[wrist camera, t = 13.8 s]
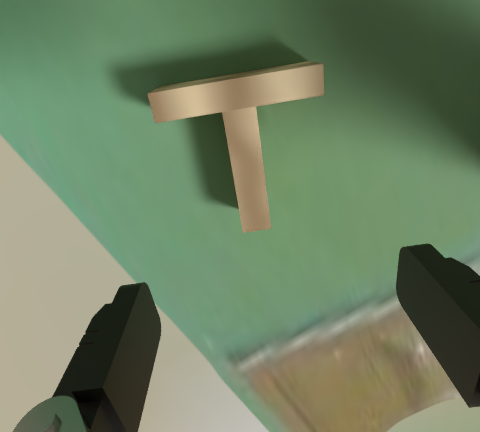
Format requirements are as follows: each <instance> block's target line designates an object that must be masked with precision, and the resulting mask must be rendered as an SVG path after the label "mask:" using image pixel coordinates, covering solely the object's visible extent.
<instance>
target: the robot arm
mask: <svg viewBox="0 0 480 432" xmlns="http://www.w3.org/2000/svg"><path fill="white" fill-rule="evenodd" d="M396 291H397V296H398V299H399V302H400V304H401V306H402V307H403V309H404V310H405V312H406V313H407V315H408V316H409V318H410V319H411V321H412V322H413V324H414V325H415V327H416V328H417V330H418V331H419V333H420V334H421V336H422V337H423V339H424V340H425V342H426V343H427V345H428V346H429V348H430V350H431V351H432V353H433V354H434V356H435V357H436V359H437V360H438V362H439V363H440V365H441V366H442V368H443V369H444V371H445V372H446V374H447V375H448V377H449V378H450V380H451V381H452V383H453V384H454V386H455V387H456V389H457V390H458V392H459V393H460V395H461V396H462V398H463V399H464V401H465V402H466V404H467V405H468V407H469V408H470V407H478V406H480V276H479V275H478V274H477V273H476V272H475V271H474V270H472V269H471V268H470V267H469V266H467V265H465V264H463V263H461V262H459V261H457V260H455V259H453V258H444V257H443V256H442V255H441V254H440V253H439V252H438V251H437V250H436V249H435V248H434V247H433V246H432V245H431V244H421V245H414V246H407V247H402V248H401V249H400V253H399V262H398V272H397V282H396ZM160 336H161V322H160V317H159V314H158V312H157V309H156V306H155V303H154V301H153V298H152V295H151V292H150V290H149V287H148V285H147V284H146V283H137V284H130V285H122V286H120V287H119V289H118V291H117V293H116V295H115V298H114V300H113V302H112V303H110V304H105V305H104V306H103V307H102V308H101V309H100V310H99V311H98V312H97V314H95V316H94V317H93V318H92V320H91V322H90V324H89V326H88V328H87V330H86V334H85V335H84V336H83V337H82V339H81V341H80V343H79V347H77V349H76V351H75V353H74V355H73V357H72V359H71V361H70V363H69V365H68V367H67V369H66V371H65V373H64V375H63V377H62V379H61V381H60V383H59V385H58V387H57V389H56V391H55V393H54V395H53V396H52V398H49V399H47V400H45V401H43V402H41V403H40V404H38V405H37V406H35V407H34V408H33V409H32V410H30V411H29V412H28V413H27V414H26V415H25V416H24V417H23V418H22V419H21V421H20V422H19V423H18V424H17V426H16V427H15V429H14V431H13V432H138V428H139V424H140V420H141V416H142V412H143V407H144V403H145V399H146V395H147V391H148V387H149V382H150V378H151V374H152V370H153V366H154V362H155V358H156V353H157V349H158V345H159V340H160Z"/></svg>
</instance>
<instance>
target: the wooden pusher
mask: <svg viewBox="0 0 480 432" xmlns="http://www.w3.org/2000/svg"><path fill="white" fill-rule="evenodd" d="M147 94H148V98H149V102H150V105H151V109H152V113H153V116H154V120H155V123H160V122H166V121H172V120H178V119H184V118H190V117H196V116H202V115H208V114H214V113H220V112H222V114H223V120H224V126H225V132H226V137H227V143H228V149H229V155H230V160H231V166H232V172H233V178H234V183H235V189H236V195H237V201H238V206H239V212H240V218H241V224H242V229H243V233H245V232H251V231H258V230H264V229H271V224H270V215H269V207H268V199H267V191H266V183H265V175H264V167H263V159H262V151H261V143H260V135H259V127H258V119H257V111H256V106H262V105H268V104H274V103H280V102H286V101H292V100H298V99H304V98H310V97H316V96H322V95H324V68H323V63H317V62H311V61H306V62H301V63H295V64H289V65H283V66H277V67H271V68H265V69H260V70H254V71H248V72H242V73H236V74H230V75H224V76H219V77H213V78H207V79H201V80H195V81H189V82H183V83H178V84H172V85H166V86H160V87H158V88H156V89H154V90H152V91H151V92H149V93H147Z"/></svg>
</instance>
